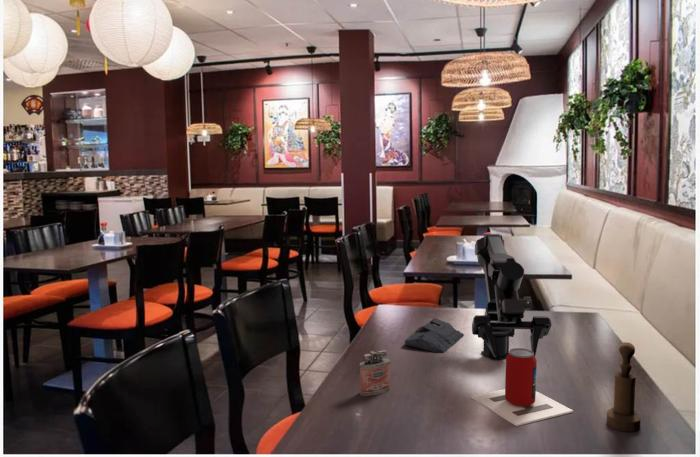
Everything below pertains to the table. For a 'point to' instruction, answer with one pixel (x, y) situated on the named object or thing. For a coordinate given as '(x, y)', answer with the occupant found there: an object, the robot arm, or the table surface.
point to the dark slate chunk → (434, 336)
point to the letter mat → (518, 414)
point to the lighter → (374, 373)
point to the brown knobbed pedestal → (624, 395)
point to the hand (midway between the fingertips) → (514, 356)
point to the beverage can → (520, 377)
